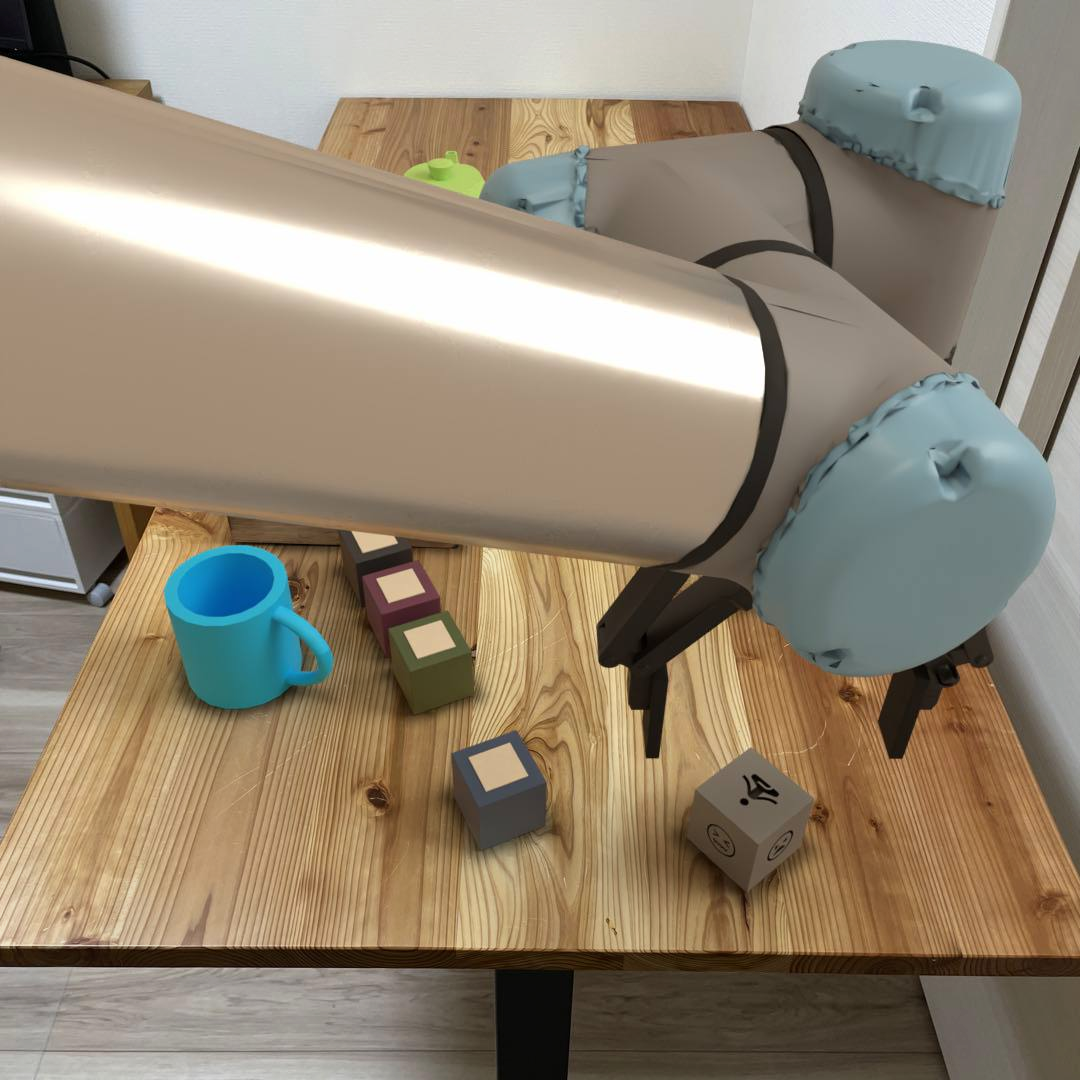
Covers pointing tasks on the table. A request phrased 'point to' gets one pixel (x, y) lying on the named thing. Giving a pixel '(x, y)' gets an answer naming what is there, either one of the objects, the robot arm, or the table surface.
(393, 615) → the block
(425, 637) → the block
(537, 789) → the block
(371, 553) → the block
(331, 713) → the table surface
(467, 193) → the teapot
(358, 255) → the robot arm
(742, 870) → the dice cube
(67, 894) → the table surface
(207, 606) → the mug
